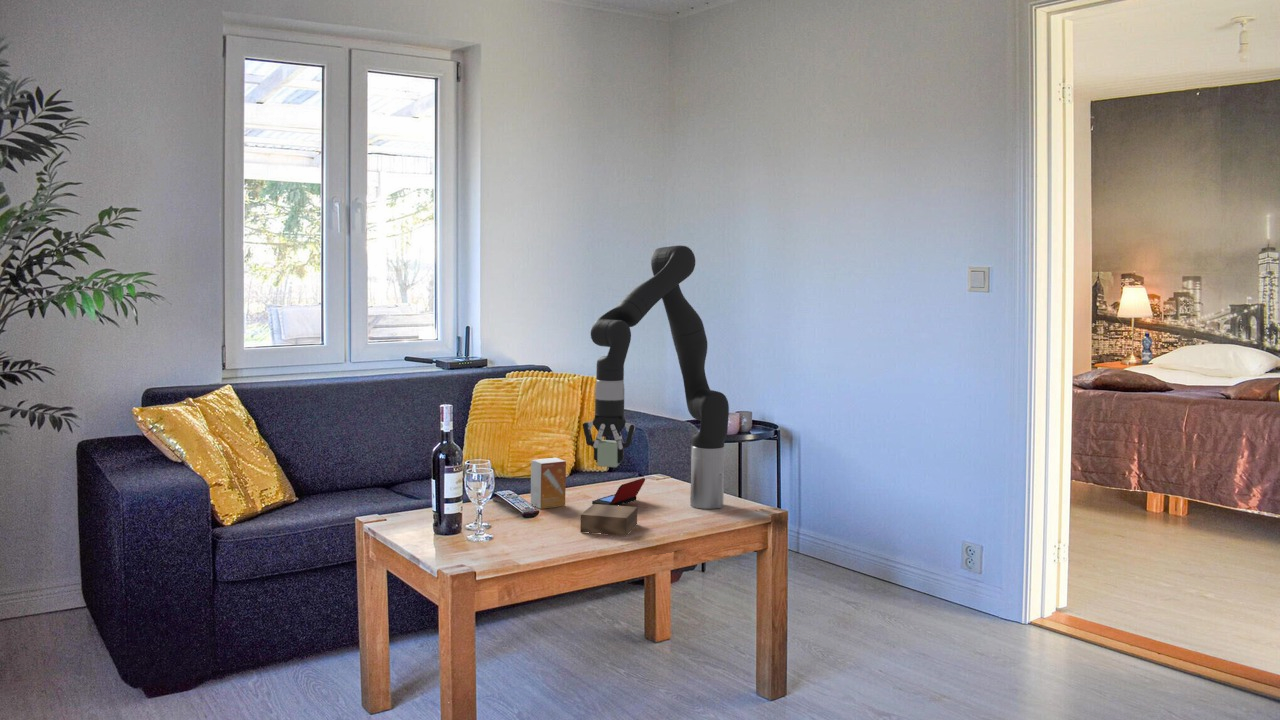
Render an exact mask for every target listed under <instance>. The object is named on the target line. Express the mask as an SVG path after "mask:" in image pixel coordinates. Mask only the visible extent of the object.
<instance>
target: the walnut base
mask: <svg viewBox="0 0 1280 720" xmlns="http://www.w3.org/2000/svg"><path fill="white" fill-rule="evenodd" d="M636 524H637V525H638V506H626V505H619V506H615V505H601V504H592V505H590V506H589V507H588V508H587V509H586V510H584V511H583V512H582V513H580V532H589V533H588V534H592V533H601V534H600V535H604V534H608V535H607V536H618V537H619V536H620V537H627V536H629V534H630V533H629V532H630V531H631V532H632V531H633V530H634V529H635V527H636V526H637V525H636ZM628 533H629V534H628Z"/></svg>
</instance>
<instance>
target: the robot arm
mask: <svg viewBox="0 0 1280 720" xmlns="http://www.w3.org/2000/svg"><path fill="white" fill-rule="evenodd" d="M650 260H651V261H650V264H651V266H650V267H651V271H652V274H653V276H652V277H651V278H649V279H647V280H646V281H644V282H642V283H641V284H640V285H638V286H636V287H634V289H632V290H631V291H630V292H629V293H628V294H626V295H625V297H624V298H623V299H621V301H620V302H619V303H618V304H617V306H615V307H613V308H612V309H610V310H608V311H607V312H605V313H604V314H602V315H601V316H600V317H598V318H597V319H596V320H595V322H593V324H592V327H591V328H590V329H591V330H590V339H591V341H592V343H594V344H595V345H596V346H599V347H605V348H606V347H607V348H609V349H608V352H607V355H604V356H600V357H598V358H597V360H596V377H595V378H596V381H595V389H594V418H593V420H591V421H584V422H583V424H582V429H583V433H584V438H585V442H586V445H587V446H591V447H592V448H593V460H594V461H595V463H597V452H598V442H600V441H601V440H603V438H604V437H610V438H614V440H615V441H616V442H617V443H618V448H619V449H618V463H619V465H620V464H622V462H623V461H624V459H625V449H626V448H629V447H630V446H631V445H632V443H633V438H634V435H635V431H636V427H637V424H636V423H634V422H633V423H629V422H627V421H626V419H625V383H624V382H625V379H624V377H625V370H624V369H625V361H626V358H627V355H628V351H629V348H630V344H631V339H632V333H631V332H632V331H631V328H633V327H635V326H637V325H638V324H639V323H640V322H641V321H642V319H643V318H644V317H645V316H646V315H647V313H649V311H650V310H651V309H652V308H653V307H654V306H656V304H657V303H658V302H659V301H660V300H662V303H663V306H664V310H665V314H666V316H667V320H668V324H669V328H670V333H671V338H672V341H673V345H674V348H675V349H674V350H675V352H676V355H677V359H678V365H679V368H680V372H681V375H682V381H683V387H684V394H685V402H686V407H687V411H688V412H689V414H690V416H691V417H692V418H694V419H695V420H697V421H699V422H700V425H699V426H700V427H699V431H698V432H697V433H695V434H693V435H692V437H691V455H690V456H691V459H690V503H689V504H690V506H691V507H693V508H697V509H705V510H707V509H708V510H715V509H722V508H723V506H724V492H725V491H724V490H725V487H724V486H725V485H724V484H725V471H724V470H725V469H724V464H725V461H724V460H725V459H724V458H725V441H726V438H727V435H728V430H729V416H730V415H729V414H730V406H729V405H730V404H729V401H728V398H727V396H726V395H725V394H724V393H723V392H720V391H718V390H712V389H711V388H710V386H709V382H708V380H707V375H706V371H705V370H706V369H705V365H706V359H707V358H706V357H707V353H708V339H707V334H706V329H705V326H704V323H703V320H702V319H701V317H700V315H699V314H698V312H697V311H696V310H695V308H694V307H693V305H691V304H690V303H689V302H688V300H687V299H686V297H685V296H684V294H683V292H682V289H681V287H680V283H682V282H684V281H685V280H686V279H687V278H689V277H690V276H691V275H692V274H693V272H694V270H695V266H696V256H695V254H694V251H693V250H692V249H691V248H690V247H689V246H687V245H671V246H665V247H664V246H663V247H662V246H661V247H659V248H656V249H654V251H653V252H652V254H651V258H650ZM593 426H594V428H595V430H596V431H597V434H596V437H595V440H593V435H592V429H593ZM624 428H625V429H626V432H627V436H626V440H625V442H624V440H623V436H622V433H621V432H622V431H623V429H624Z"/></svg>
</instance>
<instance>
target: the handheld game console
mask: <svg viewBox="0 0 1280 720" xmlns="http://www.w3.org/2000/svg"><path fill="white" fill-rule="evenodd" d="M645 482H646V478H644V477H642V478H639V479H637V480H636V479H635V480H633V481H629V482H625V483H623V484H620V486H618V488H617V490H616V492H615V494H610V495H608V496H603V497H601V498H597V499H594V500H592V501H591V504H592V505H593V504H601V505H615V506H618V505H619V506H622V505H623V504H622V503H625V504H629V503H631V501H632V502H635V501H637V495H638V494H639V492H640V490H641V488H642V487H643V485H644V483H645ZM634 500H635V501H634ZM628 502H629V503H628Z"/></svg>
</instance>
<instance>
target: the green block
mask: <svg viewBox="0 0 1280 720" xmlns="http://www.w3.org/2000/svg"><path fill="white" fill-rule="evenodd" d="M618 449H619V448H618V443H617V442H616V441H615V439H614V440H610V439H602V440H601V441H600V442H598V452H597V462H596V463H597V467H607V468H618V466H619V465H620V464H619V463H618Z"/></svg>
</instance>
